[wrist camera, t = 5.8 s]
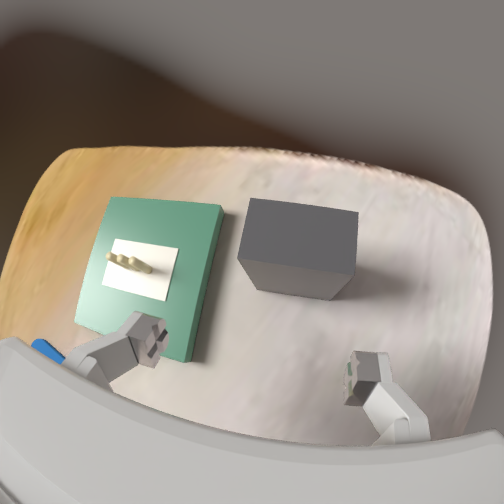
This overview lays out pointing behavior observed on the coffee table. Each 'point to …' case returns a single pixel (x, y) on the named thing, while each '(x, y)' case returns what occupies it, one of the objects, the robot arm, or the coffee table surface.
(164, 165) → the coffee table surface
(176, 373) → the coffee table surface
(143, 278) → the board
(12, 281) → the coffee table surface
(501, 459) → the robot arm
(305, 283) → the block
